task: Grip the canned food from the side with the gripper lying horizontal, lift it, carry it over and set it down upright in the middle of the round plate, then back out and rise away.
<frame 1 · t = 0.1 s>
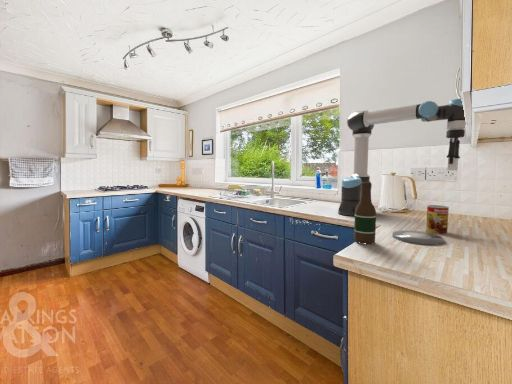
hand: (452, 170, 133), 28 cm above the worktop, tool pointing down, fingers open, 13 cm apart
plate: (416, 238, 104), on the worktop
beer bottle: (364, 242, 100), on the worktop
canned food: (436, 232, 115), on the worktop
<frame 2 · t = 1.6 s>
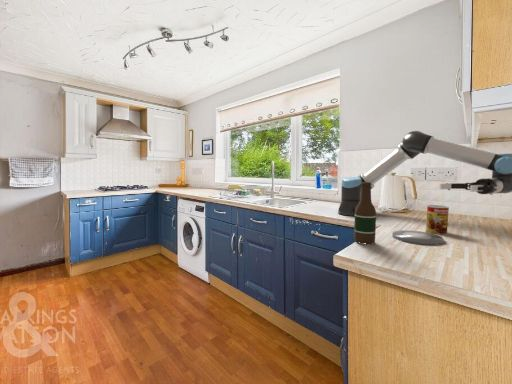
hand: (454, 187, 115), 20 cm above the worktop, tool horizontal, fingers open, 13 cm apart
nothing on the worktop moved.
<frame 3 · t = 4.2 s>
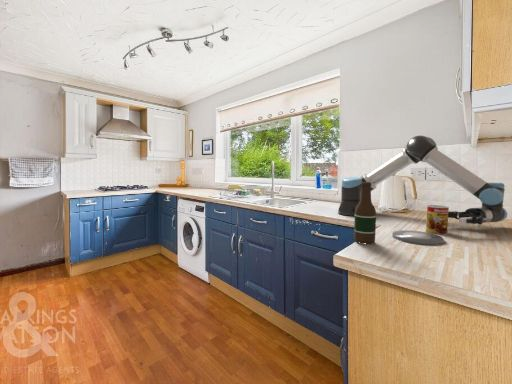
hand: (444, 218, 114), 6 cm above the worktop, tool horizontal, fingers open, 13 cm apart
nothing on the worktop moved.
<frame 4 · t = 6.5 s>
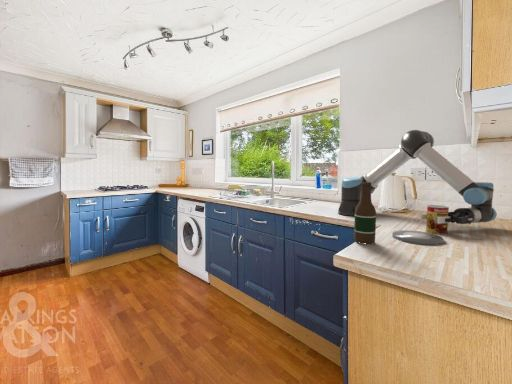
hand: (429, 218, 113), 7 cm above the worktop, tool horizontal, fingers closed on canned food, 8 cm apart
canned food: (436, 232, 115), on the worktop, touching gripper
everything else where it was.
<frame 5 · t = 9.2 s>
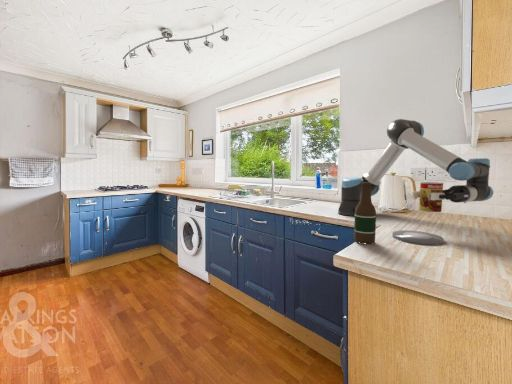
hand: (422, 195, 105), 18 cm above the worktop, tool horizontal, fingers closed on canned food, 8 cm apart
canned food: (429, 211, 107), point 11 cm above the worktop, touching gripper
everything else where it was.
when the fingers open (9 cm above the worktop, at t = 12.3 s): canned food drops 1 cm, resting on plate.
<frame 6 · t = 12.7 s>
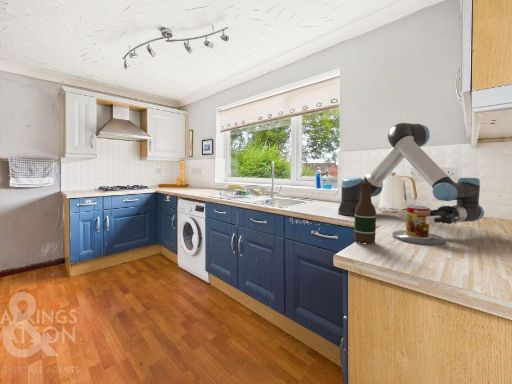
hand: (411, 217, 103), 9 cm above the worktop, tool horizontal, fingers open, 13 cm apart
canned food: (416, 235, 105), point 1 cm above the worktop, touching plate
everything else where it was.
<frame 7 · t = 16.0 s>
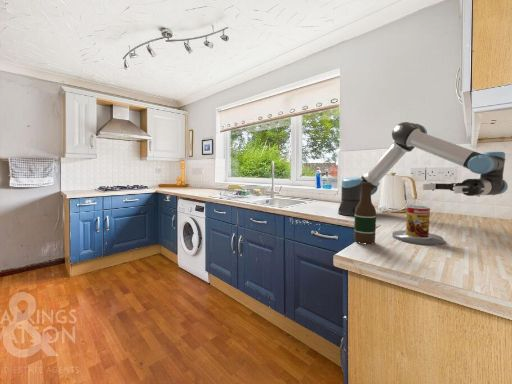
hand: (438, 188, 105), 21 cm above the worktop, tool horizontal, fingers open, 13 cm apart
nothing on the worktop moved.
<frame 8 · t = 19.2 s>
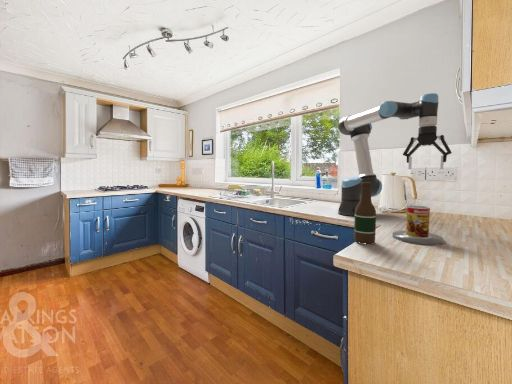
hand: (425, 169, 127), 29 cm above the worktop, tool pointing down, fingers open, 13 cm apart
nothing on the worktop moved.
at the end: canned food inside the target area on the plate (0.1 cm from its centre), point 1.1 cm above the plate's base; canned food tilted 0°; the gripper is holding nothing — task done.
